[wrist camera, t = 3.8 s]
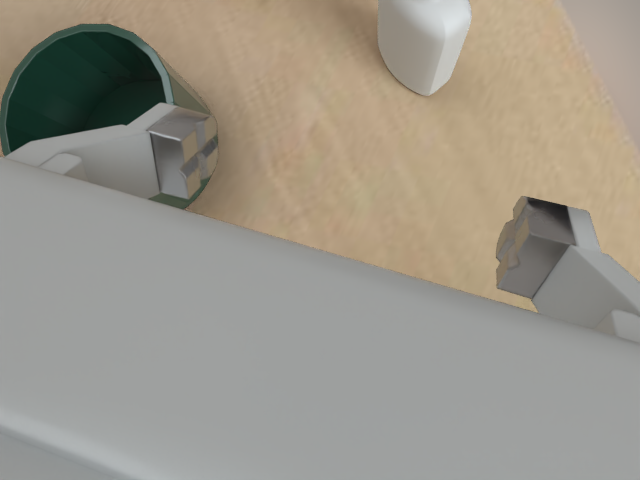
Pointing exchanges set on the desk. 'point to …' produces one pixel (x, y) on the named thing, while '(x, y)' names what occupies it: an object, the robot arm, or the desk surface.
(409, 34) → the eye dropper bottle
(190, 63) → the desk surface
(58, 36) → the tin
